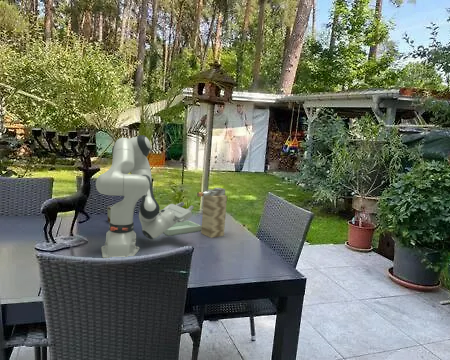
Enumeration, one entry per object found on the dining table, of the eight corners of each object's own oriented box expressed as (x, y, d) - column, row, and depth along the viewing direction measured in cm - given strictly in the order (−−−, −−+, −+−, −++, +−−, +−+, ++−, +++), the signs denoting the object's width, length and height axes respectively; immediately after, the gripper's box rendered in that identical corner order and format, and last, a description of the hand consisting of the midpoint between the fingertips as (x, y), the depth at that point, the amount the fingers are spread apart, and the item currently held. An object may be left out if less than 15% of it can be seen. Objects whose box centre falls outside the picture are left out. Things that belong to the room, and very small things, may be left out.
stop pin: (199, 197, 214) (199, 192, 213) (196, 196, 216) (197, 192, 215) (223, 194, 225) (223, 190, 225) (220, 193, 227) (220, 189, 227)
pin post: (211, 237, 220) (214, 190, 216) (201, 233, 227) (204, 187, 223) (223, 235, 226) (227, 189, 222) (213, 231, 234) (217, 186, 230)
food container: (125, 224, 233) (125, 209, 232) (116, 225, 229) (117, 210, 227) (114, 220, 241) (115, 205, 240) (106, 221, 237) (106, 206, 236)
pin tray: (168, 236, 217) (168, 230, 216) (156, 229, 227) (156, 224, 227) (201, 231, 232) (201, 225, 232) (188, 225, 243) (189, 220, 242)
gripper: (177, 218, 195) (196, 203, 202) (158, 209, 210) (176, 196, 217) (181, 227, 198) (200, 213, 204) (162, 218, 213) (180, 205, 220)
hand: (188, 204), depth 211 cm, fingers open, 8 cm apart
